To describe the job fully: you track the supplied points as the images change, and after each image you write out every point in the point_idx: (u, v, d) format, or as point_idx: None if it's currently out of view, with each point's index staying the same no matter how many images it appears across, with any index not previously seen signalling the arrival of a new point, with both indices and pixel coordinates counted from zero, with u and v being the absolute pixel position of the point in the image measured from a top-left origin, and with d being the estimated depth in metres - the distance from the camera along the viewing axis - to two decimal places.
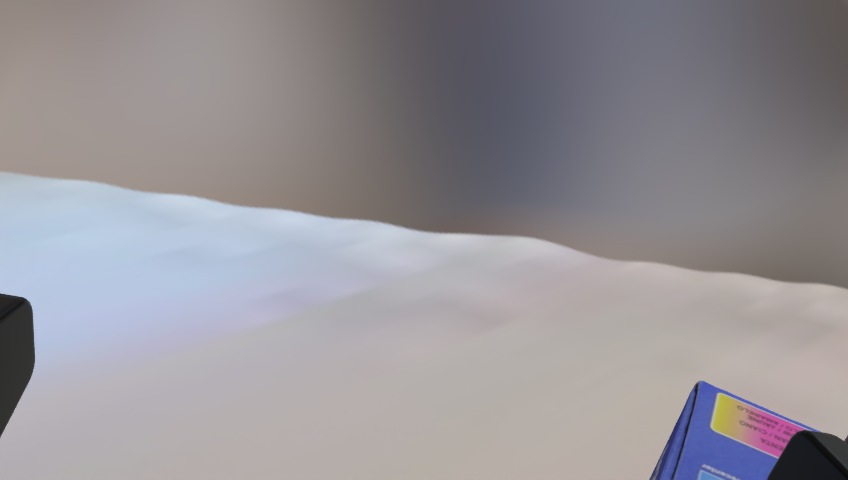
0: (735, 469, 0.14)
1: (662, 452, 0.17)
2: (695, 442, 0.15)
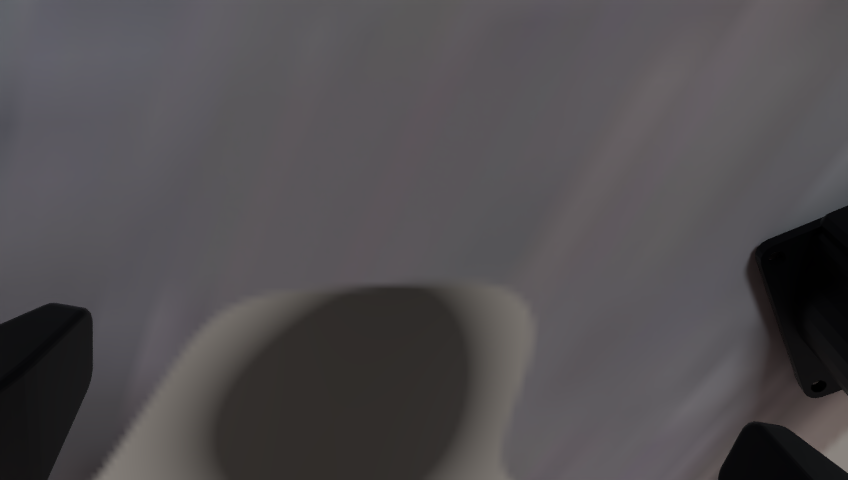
0: None
1: None
2: None
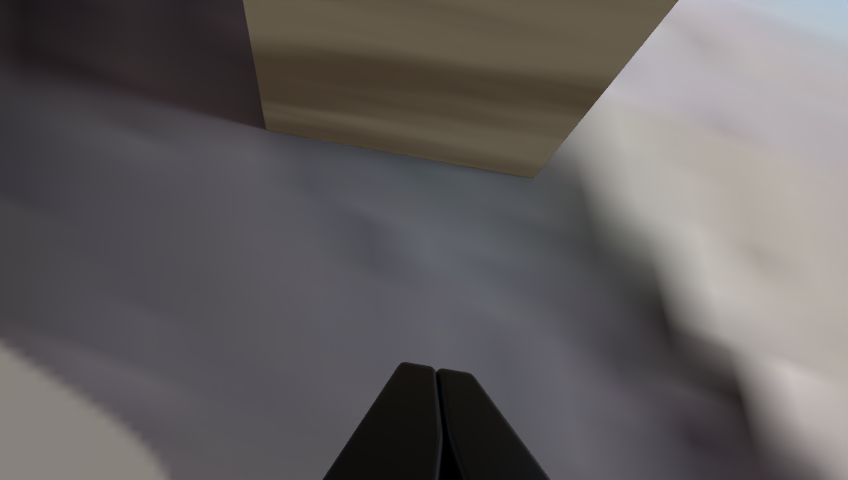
0: None
1: None
2: None
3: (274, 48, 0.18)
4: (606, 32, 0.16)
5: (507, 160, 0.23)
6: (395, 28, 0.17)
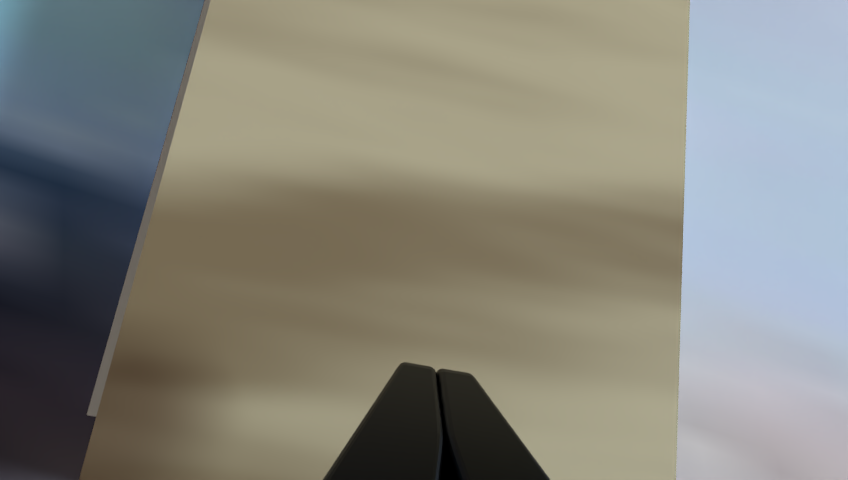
0: None
1: None
2: None
3: (198, 188, 0.12)
4: (641, 95, 0.13)
5: None
6: (393, 118, 0.12)
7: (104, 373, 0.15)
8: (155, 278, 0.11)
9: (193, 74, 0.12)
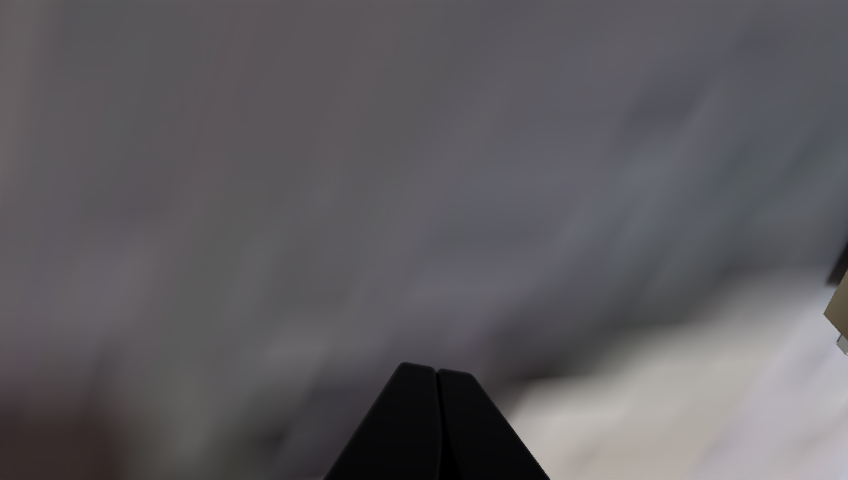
0: None
1: None
2: None
3: None
4: None
5: None
6: None
7: None
8: None
9: None
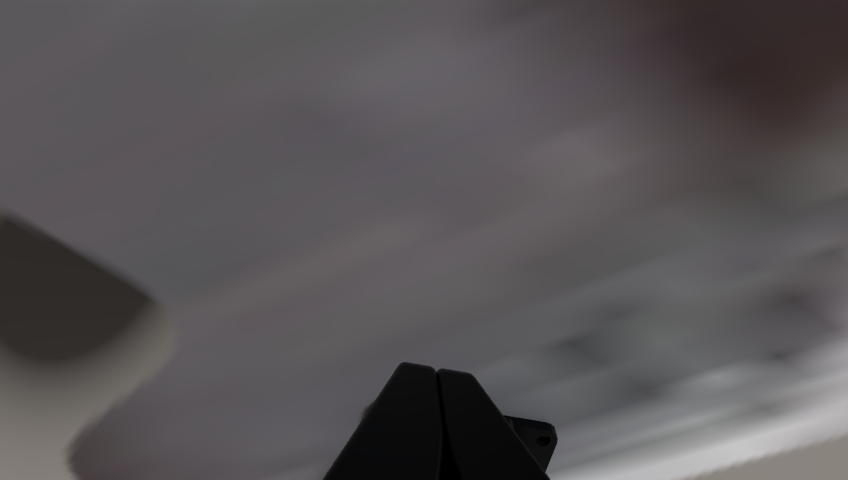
0: None
1: None
2: None
3: None
4: None
5: None
6: None
7: None
8: None
9: None
